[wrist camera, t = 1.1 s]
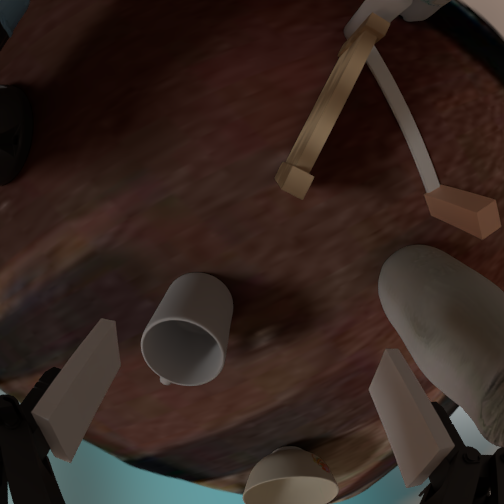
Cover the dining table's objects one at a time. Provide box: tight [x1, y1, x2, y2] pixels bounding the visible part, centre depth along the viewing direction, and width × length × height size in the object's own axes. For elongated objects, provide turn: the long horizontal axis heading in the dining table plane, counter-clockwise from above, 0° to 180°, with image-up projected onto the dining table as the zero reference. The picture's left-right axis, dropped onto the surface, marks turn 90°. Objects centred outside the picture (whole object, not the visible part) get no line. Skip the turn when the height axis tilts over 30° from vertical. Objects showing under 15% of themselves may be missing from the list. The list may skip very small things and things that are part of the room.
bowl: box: [243, 446, 339, 504], centre depth 44 cm, size 16×16×10 cm
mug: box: [141, 272, 233, 386], centre depth 34 cm, size 12×8×11 cm
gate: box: [274, 12, 391, 200], centre depth 26 cm, size 18×2×10 cm, turn 154°
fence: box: [344, 0, 501, 240], centre depth 25 cm, size 26×3×12 cm, turn 29°
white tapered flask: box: [378, 245, 504, 447], centre depth 24 cm, size 10×10×28 cm
